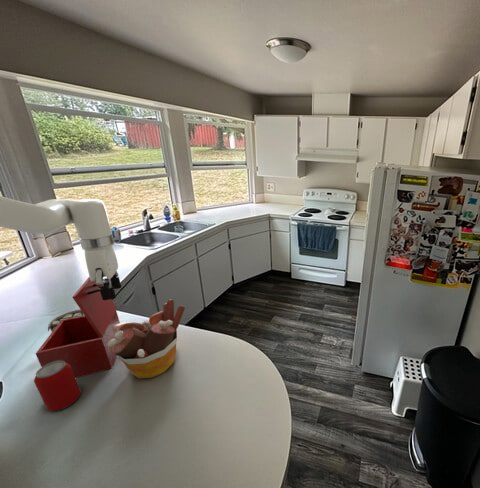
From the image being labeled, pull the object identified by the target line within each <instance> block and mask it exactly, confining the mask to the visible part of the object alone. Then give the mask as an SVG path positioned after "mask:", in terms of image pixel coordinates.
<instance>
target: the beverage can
mask: <svg viewBox="0 0 480 488" xmlns="http://www.w3.org/2000/svg"><path fill="white" fill-rule="evenodd" d="M33 383H34V385H35V387H36V389H37V391H38V394H39V395H40V397H41V400H42V401H43V404H44V405H45V408H46V409H47V410H48V411H50V412H56V411H60V410H63V409H65V408H67V407H69V406H71V405H72V404H74V403H76V401H77V400H78V399H79V397H80V396H81V393H82V391H81V388H80V385H79V383H78V380H77V378H75V375H74V373H73V370H72V368H71V366H70V364H68V363H65V362H64V361H54V362H51V363H49V364H47V365H45V366H43V367H41V366H40V368H39V369H38V370H36V373H35V376H34V379H33Z"/></svg>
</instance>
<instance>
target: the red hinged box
mask: <svg viewBox="0 0 480 488" xmlns="http://www.w3.org/2000/svg"><path fill="white" fill-rule="evenodd" d="M117 311H118V310H116V311H115V313H114V315H113V317H112V319H111V321H110V323H109V325H108V327H107V329H106V331H105V334H104V336H103V337H101V338H99V336H98V335H97V333H96V332H95V330H94V329H93V327H92V326H91V324H90V323H89V321H88V320H87V318H86V317H85V315H84V316H79V317H74V318H68V319H63V320H61V321H60V323H59V324H58V325H57V326H56V328H55V329H54V330H53V332H52V331H51V333H50V334H49V335H48V336H47V338H46V339H45V340H44V342H43V343H42V344H41V346H39V348H38V350H37V351H36V352H35V356H36V359H37V360H38V362H39V365H40V368H41V367H43V366H45V365H47V364H49V363H51V362H54V361H64V362H65V363H68V364H70V366H71V368H72V370H73V373H74V375H75V378H76V379H77V378H81V377H84V376H88V375H92V374H96V373H100V372H104V371H107V370H111V369H113V366H114V364H115V360H116V359H117V355H115V354H113V353H112V352H111V347H109V346H108V342H109V341H110V340H112V339H114V338H115V333H114V332H113V330H112V327H113V326H114V325H116V324H119V323H121V322H120V319H119V315H118V312H117Z"/></svg>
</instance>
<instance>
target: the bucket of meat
mask: <svg viewBox="0 0 480 488" xmlns="http://www.w3.org/2000/svg"><path fill="white" fill-rule="evenodd" d="M162 306H163V307H162V310H161V311H158V312H155V313H154V314H152V315H151V316H149V318H148V320H143V321H141V323H140V322H135V321H125V322H120V323H119V324H116V325H114V326H113V327H112V330H113V332H114V333H115V338H114V339H112V340H110V341H109V342H108V346H109V347H111V352H112V353H113V354H115V355H116V357H118V358H119V359H120V361H122V363H123V365H124V366H125V367H126V368H127V370H128V371H129V372H130V373H131V374H132V375H133V376H135V377H136V378H138V379H151V378H154V377H156V376H159V375H161V374H164V373H165V372H166V371H167V370H168V369H169V368H170V367H171V366H172V365H173V364H174V363H175V361H176V353H177V343H178V342H177V341H178V327H179V326H180V323H181V320H182V317H183V314H184V312H185V310H186V309H185V306H184V305H180V306H178V307H177V310H176V312H175V300H173V298H172V299H171V298H170V299H168V301H167V302H165V303H164V304H163V305H162Z"/></svg>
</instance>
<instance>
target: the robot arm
mask: <svg viewBox="0 0 480 488" xmlns="http://www.w3.org/2000/svg"><path fill="white" fill-rule="evenodd" d="M71 224H73V225H74V227H75V231H76V234H77V237H78V240H79V243H80V248H81V250H83V251H84V259H85V264H86V269H87V273H88V277H90V280H91V281H92V282H94V281H95V280H96V285H97V286H98V287H99V290H100V292H101V296H102V299H103V300H109V299H112V300H115V299H116V298H117V295H116V292H115V290H118V289H122V283H121V280H120V277H119V273H118V269H119V261H118V259H117V255H116V252H115V249H114V246H115V245H116V242H115V238H114V236H113V235H114V233H113V231H112V228H111V223H110V220H109V216H108V212H107V209H106V205H105V203H104V201H102V200H101V199H95V198H89V199H88V198H87V199H78V200H76V199H64V198H63V199H62V198H61V199H60V198H52V199H47V200H44V201H41V202H38V203H29V202H25V201H21V200H17V199H13V198H9V197H6V196H2V195H0V228H3V229H9V230H13V231H19V232H23V233H28V234H37V235H46V234H47V235H48V234H52V233H55V232H57V231H59V230H61V229H62V228H64V227H67V226H70V225H71ZM105 280H107V282H108V284H107V283H104V281H105ZM111 280H112V282H111Z"/></svg>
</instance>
